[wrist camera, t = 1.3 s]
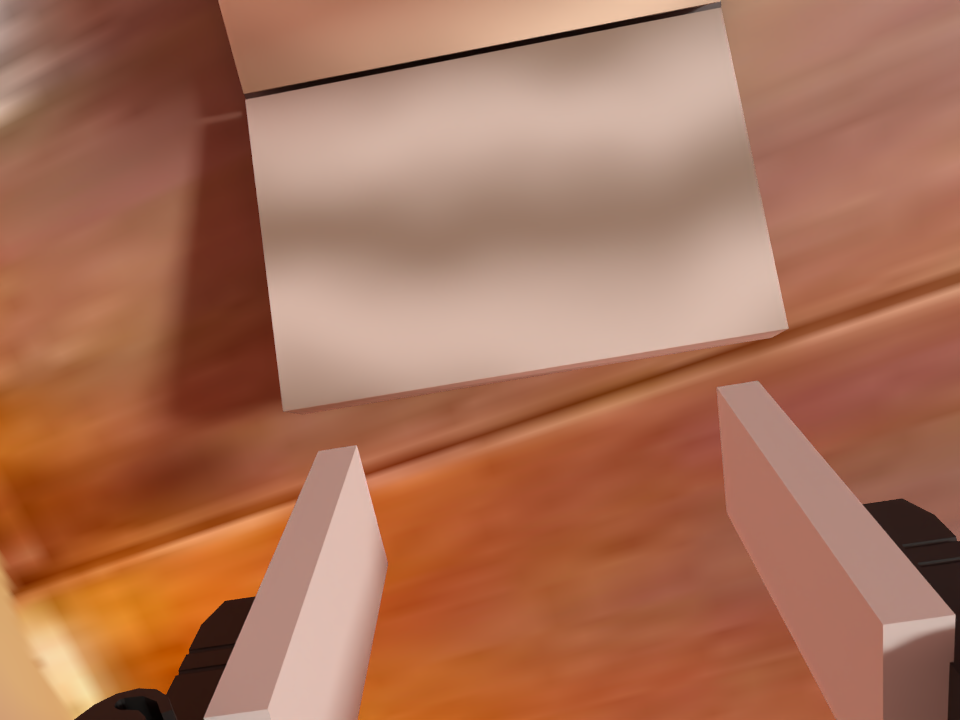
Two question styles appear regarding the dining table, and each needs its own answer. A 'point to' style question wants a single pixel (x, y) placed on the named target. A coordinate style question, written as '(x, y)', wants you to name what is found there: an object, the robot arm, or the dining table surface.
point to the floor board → (405, 33)
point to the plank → (512, 215)
